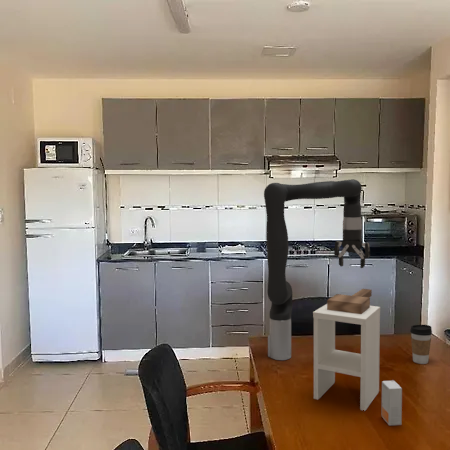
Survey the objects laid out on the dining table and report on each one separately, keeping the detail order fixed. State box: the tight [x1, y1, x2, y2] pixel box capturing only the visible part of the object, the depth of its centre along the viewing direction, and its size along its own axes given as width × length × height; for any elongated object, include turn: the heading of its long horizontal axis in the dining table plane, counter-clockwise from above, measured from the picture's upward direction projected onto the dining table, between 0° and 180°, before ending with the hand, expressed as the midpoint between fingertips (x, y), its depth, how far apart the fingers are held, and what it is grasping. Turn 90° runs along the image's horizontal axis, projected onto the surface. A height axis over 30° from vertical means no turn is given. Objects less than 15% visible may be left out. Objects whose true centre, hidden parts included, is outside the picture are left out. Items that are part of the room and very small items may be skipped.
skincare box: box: [381, 380, 403, 426], centre depth 154 cm, size 6×4×12 cm
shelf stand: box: [312, 303, 381, 412], centre depth 172 cm, size 18×18×31 cm
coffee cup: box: [409, 324, 433, 365], centre depth 203 cm, size 8×8×15 cm
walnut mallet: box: [326, 288, 373, 314], centre depth 179 cm, size 12×28×4 cm, turn 148°
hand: (351, 267), depth 202 cm, fingers open, 8 cm apart
